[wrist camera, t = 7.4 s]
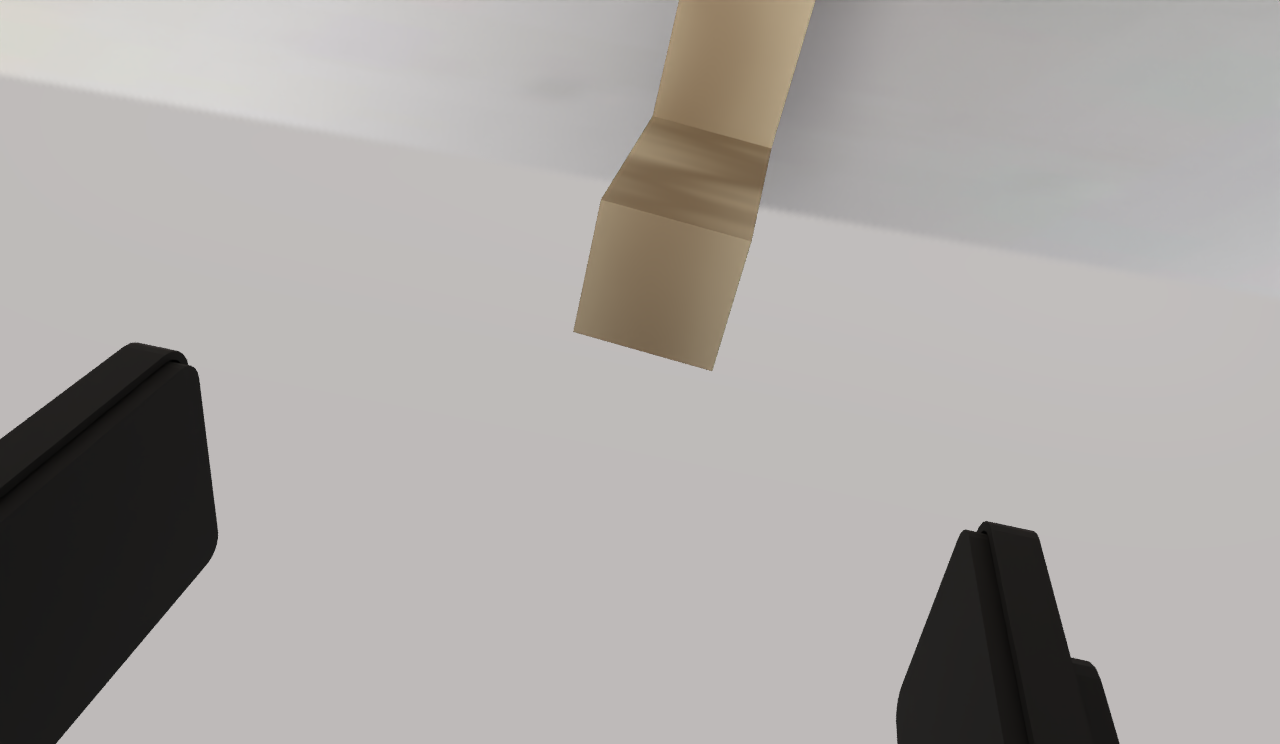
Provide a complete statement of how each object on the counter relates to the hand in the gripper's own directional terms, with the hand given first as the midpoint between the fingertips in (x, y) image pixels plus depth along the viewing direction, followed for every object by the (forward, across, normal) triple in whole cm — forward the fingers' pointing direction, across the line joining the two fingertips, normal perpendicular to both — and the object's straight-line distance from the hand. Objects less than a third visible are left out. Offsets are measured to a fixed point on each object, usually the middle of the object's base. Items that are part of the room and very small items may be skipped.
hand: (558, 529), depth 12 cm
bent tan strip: (+17, 0, -2) cm, 17 cm away
